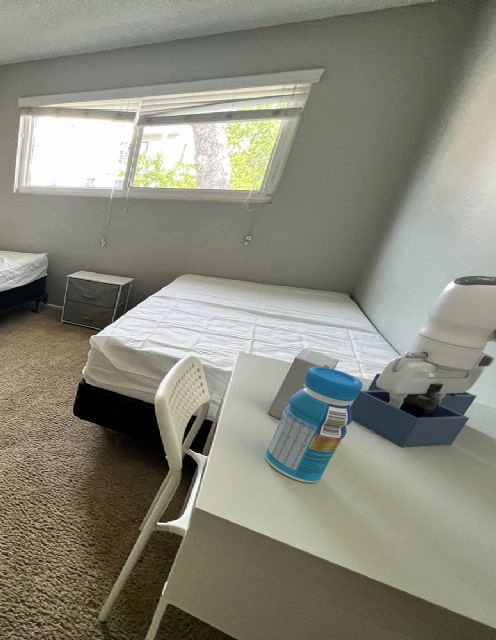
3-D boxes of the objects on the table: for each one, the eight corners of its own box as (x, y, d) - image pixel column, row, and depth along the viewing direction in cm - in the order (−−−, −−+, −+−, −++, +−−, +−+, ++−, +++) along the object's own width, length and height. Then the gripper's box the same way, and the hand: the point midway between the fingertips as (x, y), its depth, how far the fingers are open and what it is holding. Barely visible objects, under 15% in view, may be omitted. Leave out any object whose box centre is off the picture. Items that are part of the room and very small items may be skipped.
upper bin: (404, 395, 95) (424, 361, 91) (460, 420, 85) (485, 383, 81) (364, 396, 93) (382, 362, 89) (416, 422, 83) (439, 384, 79)
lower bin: (390, 414, 86) (405, 389, 83) (451, 444, 76) (469, 417, 73) (345, 415, 84) (358, 390, 81) (401, 447, 74) (418, 419, 71)
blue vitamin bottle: (258, 463, 66) (298, 371, 59) (269, 445, 71) (308, 359, 64) (316, 492, 60) (369, 394, 53) (324, 470, 65) (373, 378, 58)
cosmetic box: (275, 403, 87) (300, 346, 81) (312, 417, 82) (341, 358, 76) (265, 414, 82) (290, 354, 76) (304, 430, 77) (334, 368, 71)
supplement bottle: (370, 417, 81) (395, 372, 77) (387, 413, 83) (412, 369, 79) (410, 436, 75) (440, 389, 71) (428, 432, 77) (458, 385, 73)
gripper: (421, 359, 68) (388, 418, 73) (501, 359, 71) (464, 415, 76) (383, 345, 74) (354, 400, 79) (458, 346, 77) (426, 398, 82)
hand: (408, 407), depth 78 cm, fingers closed on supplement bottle, 7 cm apart
